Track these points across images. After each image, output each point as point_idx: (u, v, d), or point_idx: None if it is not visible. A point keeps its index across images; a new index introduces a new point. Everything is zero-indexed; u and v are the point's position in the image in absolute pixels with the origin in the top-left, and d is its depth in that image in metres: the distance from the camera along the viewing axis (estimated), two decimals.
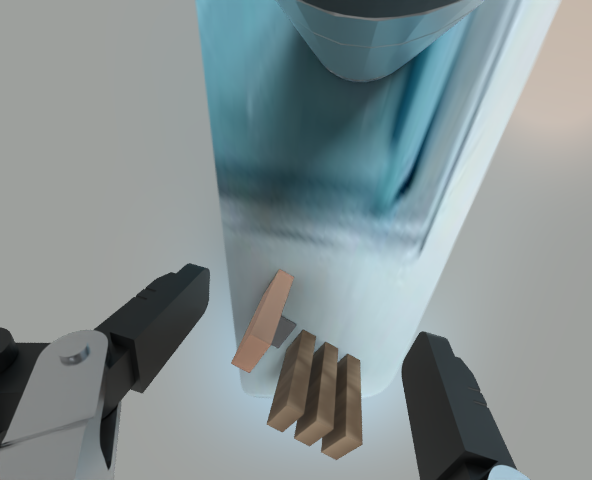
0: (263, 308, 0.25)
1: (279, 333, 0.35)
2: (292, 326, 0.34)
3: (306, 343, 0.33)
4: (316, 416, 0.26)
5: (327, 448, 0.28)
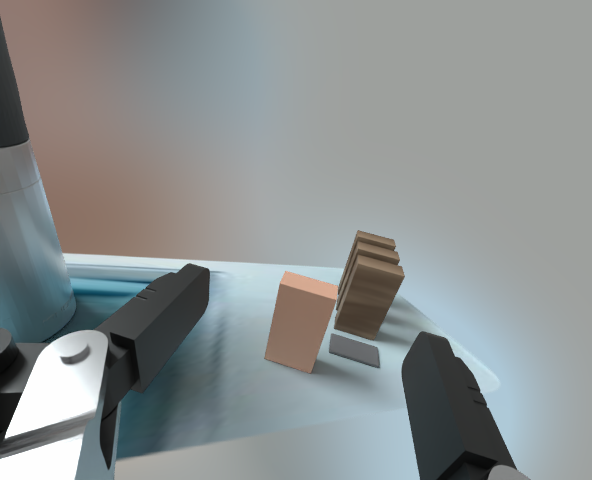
0: (274, 310, 0.24)
1: (353, 348, 0.30)
2: (335, 336, 0.31)
3: (338, 314, 0.32)
4: (358, 252, 0.31)
5: (386, 243, 0.33)
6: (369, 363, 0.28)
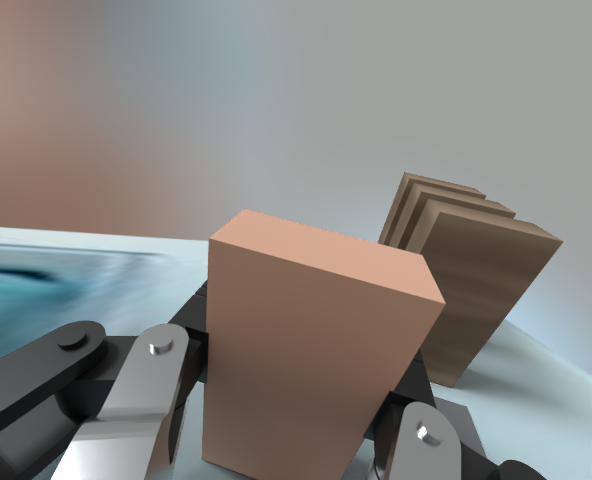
0: None
1: None
2: None
3: None
4: (421, 199, 0.14)
5: (465, 190, 0.17)
6: None
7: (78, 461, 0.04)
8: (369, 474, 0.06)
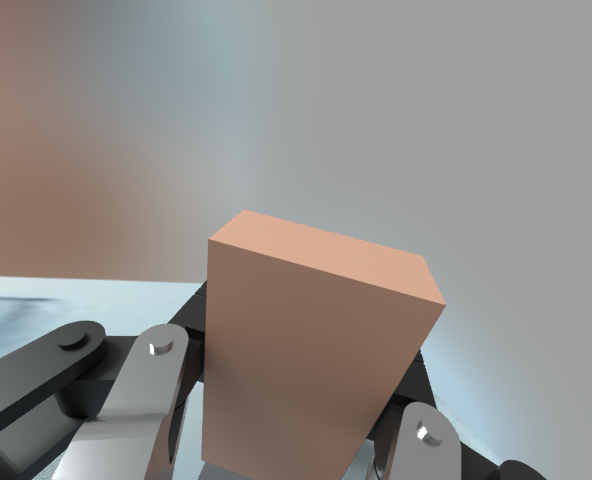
0: None
1: None
2: None
3: None
4: None
5: None
6: None
7: (78, 461, 0.04)
8: (369, 474, 0.06)
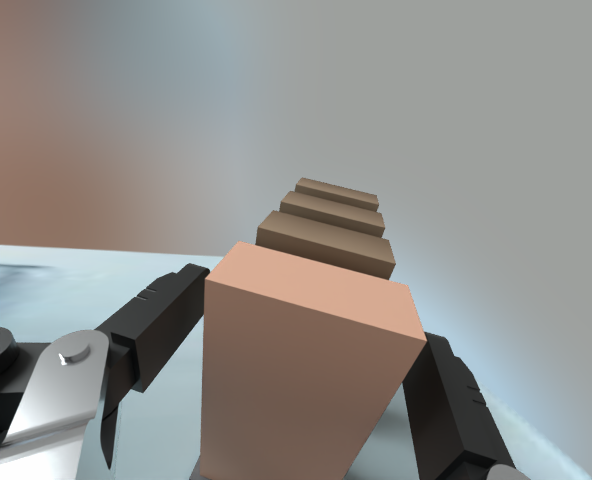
0: None
1: None
2: None
3: None
4: (282, 210, 0.12)
5: (357, 199, 0.15)
6: None
7: None
8: None
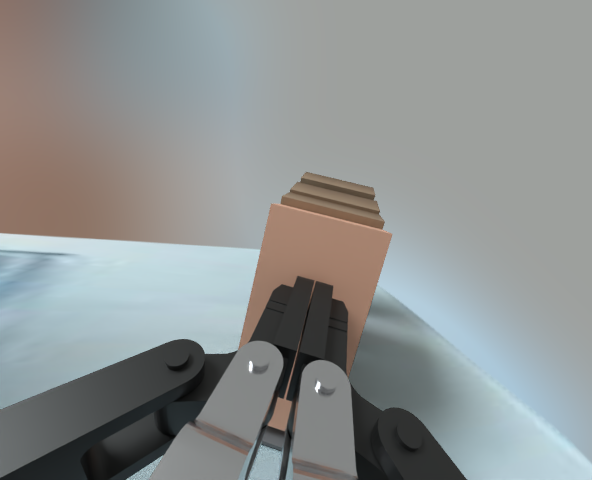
0: (255, 277, 0.11)
1: None
2: None
3: None
4: None
5: (356, 190, 0.17)
6: None
7: (175, 464, 0.04)
8: (284, 442, 0.07)
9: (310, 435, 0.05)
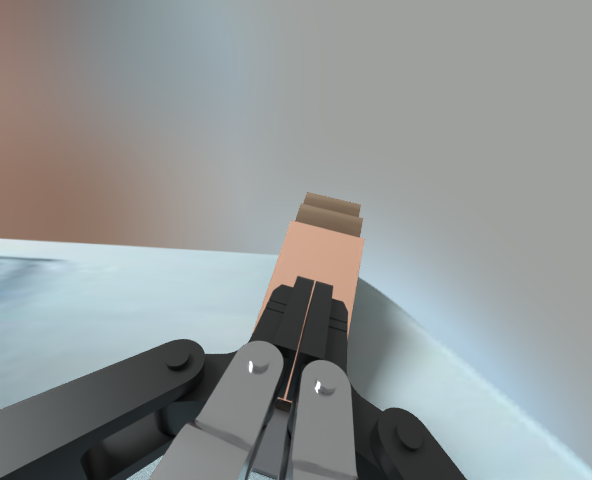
0: (276, 264, 0.16)
1: (272, 434, 0.12)
2: None
3: None
4: (307, 196, 0.23)
5: None
6: None
7: (175, 465, 0.04)
8: (284, 442, 0.07)
9: (310, 435, 0.05)
